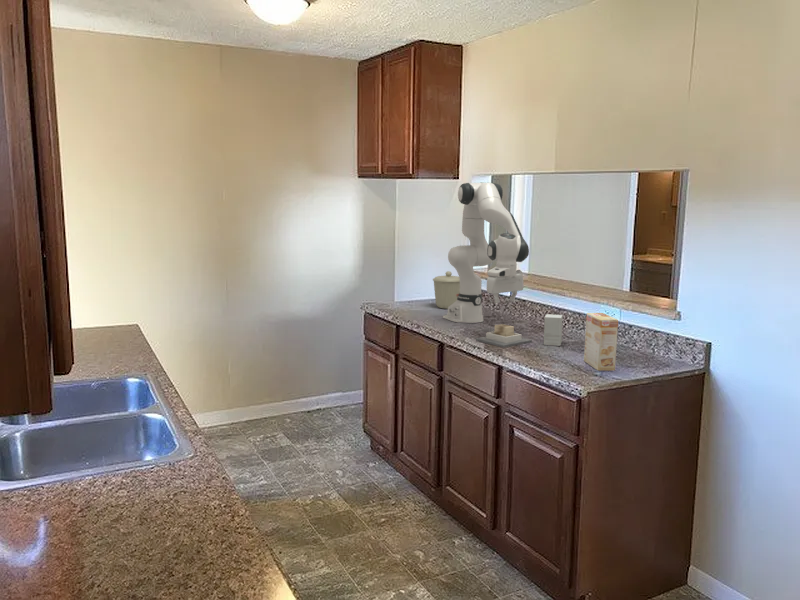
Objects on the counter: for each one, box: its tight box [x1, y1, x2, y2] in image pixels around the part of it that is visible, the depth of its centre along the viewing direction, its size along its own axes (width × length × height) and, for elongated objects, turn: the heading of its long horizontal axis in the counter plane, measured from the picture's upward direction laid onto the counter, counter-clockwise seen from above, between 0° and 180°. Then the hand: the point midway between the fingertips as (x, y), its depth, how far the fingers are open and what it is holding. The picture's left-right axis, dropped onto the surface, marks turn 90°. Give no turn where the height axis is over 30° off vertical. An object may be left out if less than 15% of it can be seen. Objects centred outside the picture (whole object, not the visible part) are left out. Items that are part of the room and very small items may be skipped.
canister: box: [432, 270, 460, 310], centre depth 378 cm, size 18×18×21 cm
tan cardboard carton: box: [494, 323, 515, 337], centre depth 294 cm, size 7×5×6 cm
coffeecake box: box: [583, 312, 619, 372], centre depth 252 cm, size 15×7×20 cm, turn 5°
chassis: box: [475, 331, 533, 348], centre depth 294 cm, size 17×18×4 cm
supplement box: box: [543, 313, 564, 347], centre depth 289 cm, size 7×7×13 cm
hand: (504, 302), depth 292 cm, fingers open, 8 cm apart
